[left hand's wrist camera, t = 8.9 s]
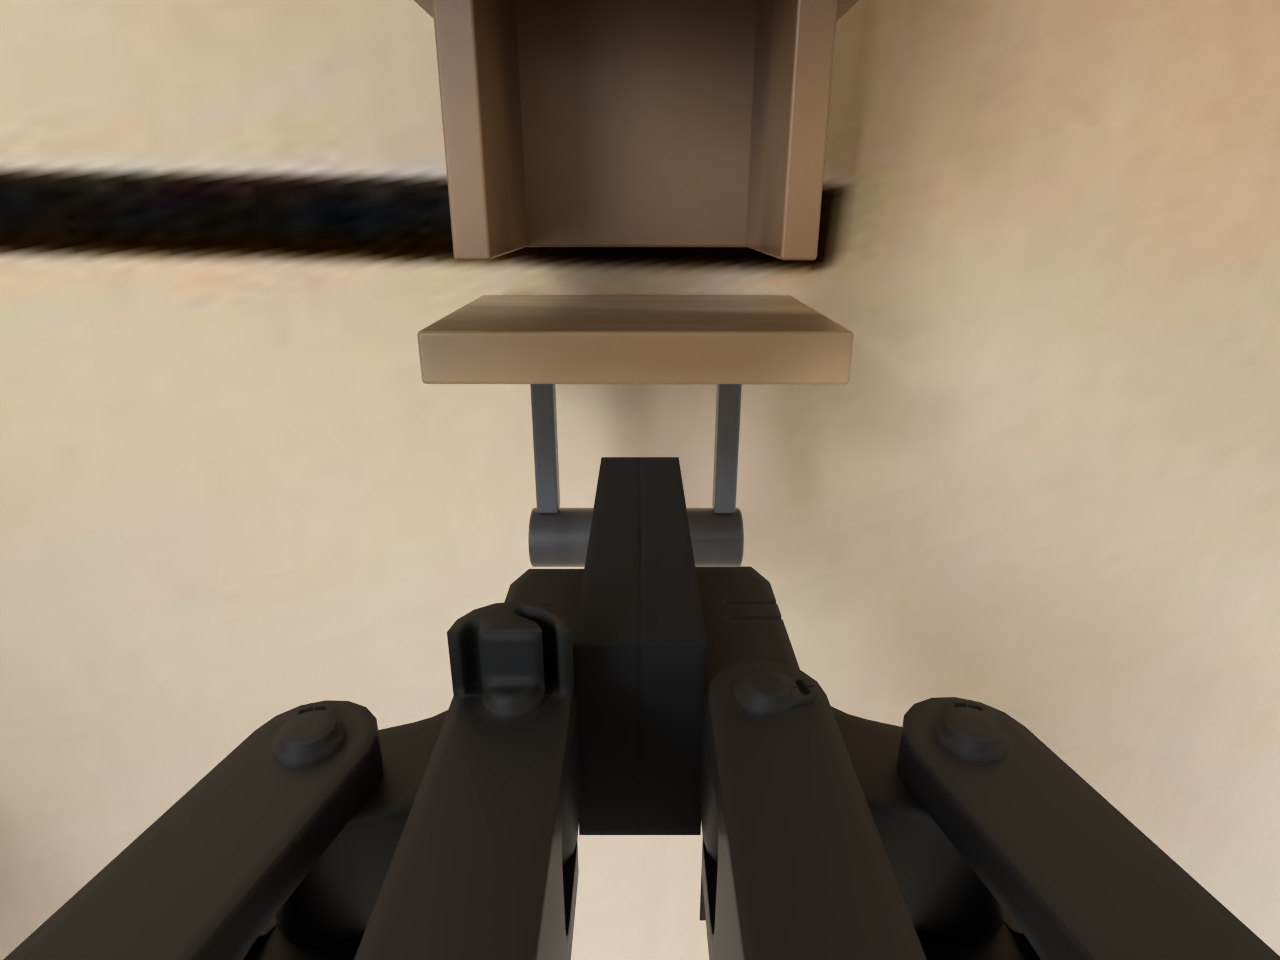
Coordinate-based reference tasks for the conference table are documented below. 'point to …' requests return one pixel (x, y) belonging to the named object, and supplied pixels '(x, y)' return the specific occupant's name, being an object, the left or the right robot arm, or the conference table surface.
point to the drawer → (635, 209)
